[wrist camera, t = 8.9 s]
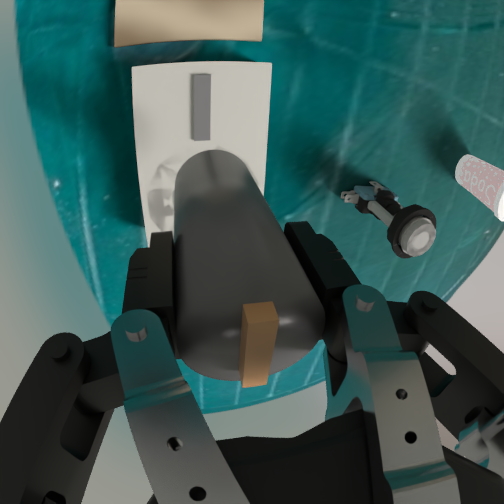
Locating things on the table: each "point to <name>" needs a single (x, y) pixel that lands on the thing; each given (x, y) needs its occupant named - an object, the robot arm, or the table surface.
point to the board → (187, 21)
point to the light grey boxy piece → (195, 124)
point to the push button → (396, 218)
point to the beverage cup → (482, 182)
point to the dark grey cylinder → (236, 277)
